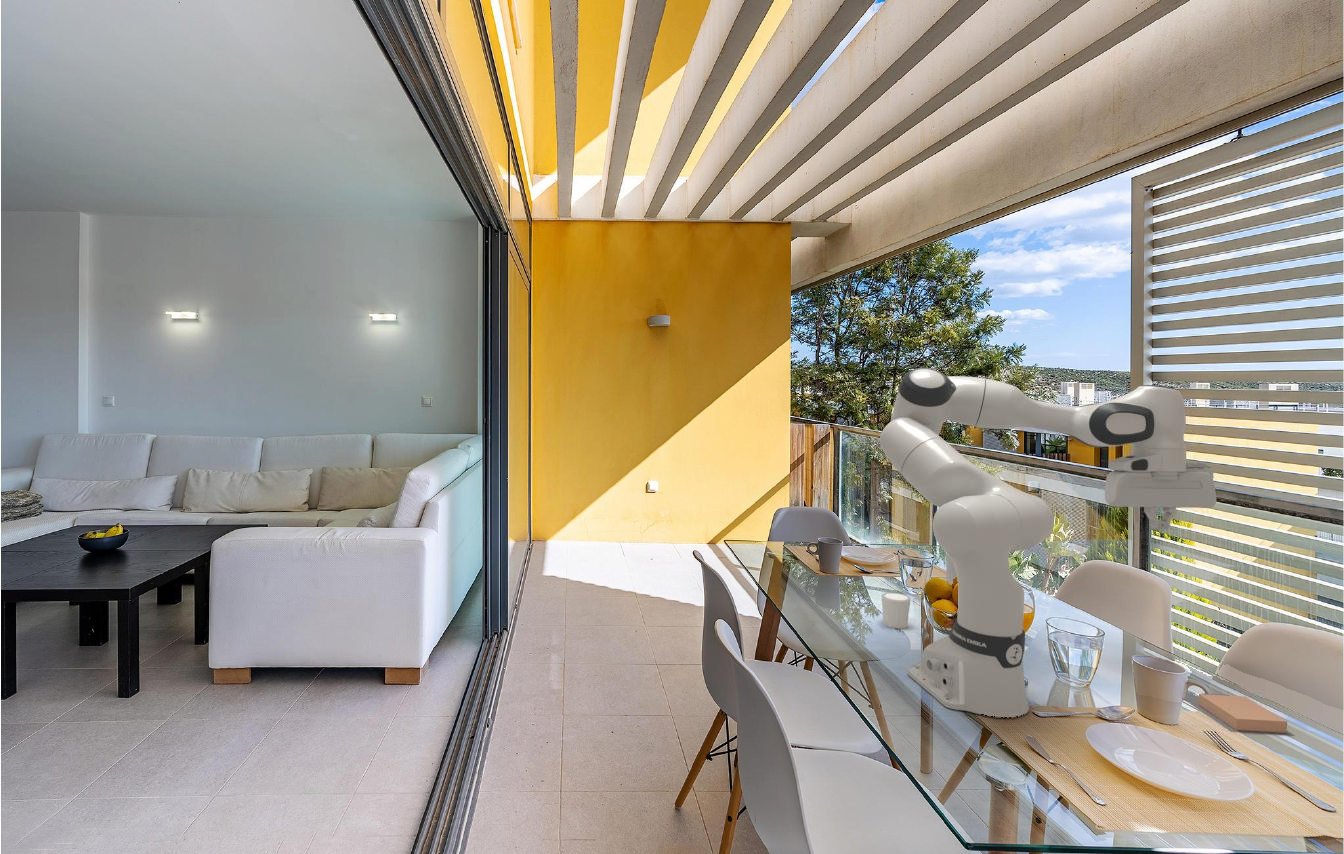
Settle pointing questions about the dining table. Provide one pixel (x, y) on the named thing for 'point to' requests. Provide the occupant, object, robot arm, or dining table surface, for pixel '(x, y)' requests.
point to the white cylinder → (895, 609)
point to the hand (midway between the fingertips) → (1160, 528)
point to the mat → (1194, 701)
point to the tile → (1242, 713)
